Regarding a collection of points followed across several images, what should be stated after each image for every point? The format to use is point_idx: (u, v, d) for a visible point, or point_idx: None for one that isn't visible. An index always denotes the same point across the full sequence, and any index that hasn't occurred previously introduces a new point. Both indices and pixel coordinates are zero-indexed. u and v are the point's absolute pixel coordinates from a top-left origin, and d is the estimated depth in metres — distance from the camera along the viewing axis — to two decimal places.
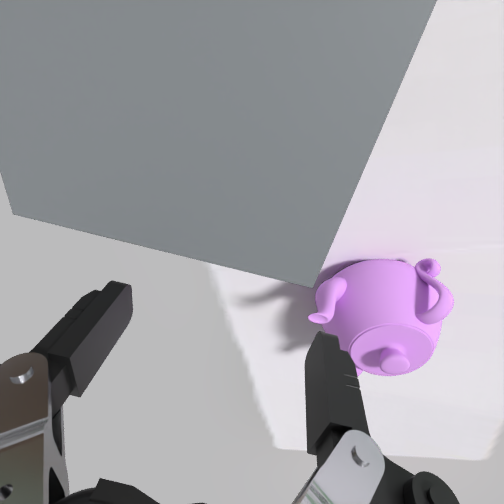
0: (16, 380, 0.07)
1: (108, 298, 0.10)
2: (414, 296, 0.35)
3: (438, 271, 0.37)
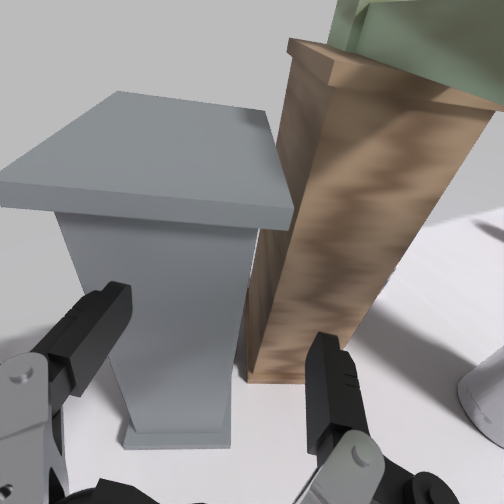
0: (16, 380, 0.07)
1: (108, 298, 0.10)
2: None
3: None
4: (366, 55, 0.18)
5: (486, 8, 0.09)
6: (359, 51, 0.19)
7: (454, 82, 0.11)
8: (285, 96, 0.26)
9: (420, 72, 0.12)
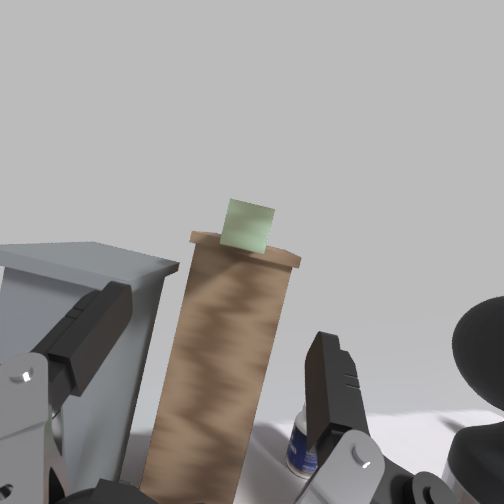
0: (16, 380, 0.07)
1: (108, 298, 0.10)
2: None
3: None
4: None
5: None
6: None
7: None
8: None
9: None
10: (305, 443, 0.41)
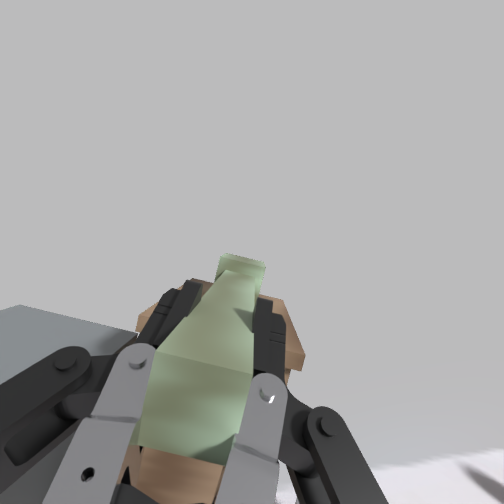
0: (137, 368, 0.08)
1: (189, 295, 0.11)
2: None
3: None
4: None
5: None
6: None
7: None
8: None
9: None
10: None
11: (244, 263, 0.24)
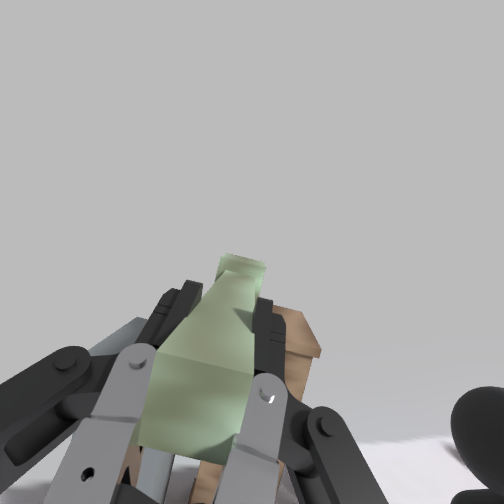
0: (137, 368, 0.08)
1: (189, 296, 0.11)
2: None
3: None
4: None
5: None
6: None
7: None
8: None
9: None
10: None
11: (244, 263, 0.24)
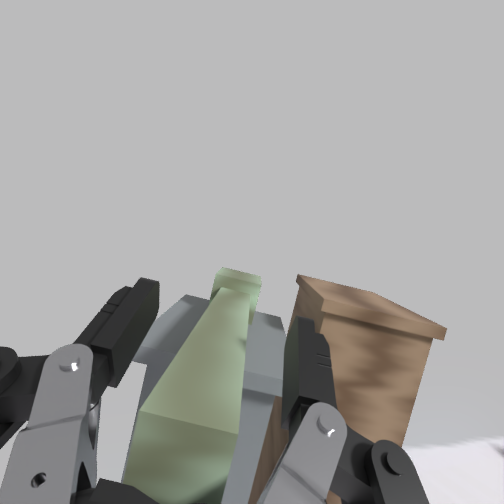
0: (66, 369, 0.08)
1: (140, 294, 0.11)
2: None
3: None
4: None
5: None
6: None
7: None
8: (294, 307, 0.36)
9: None
10: None
11: (240, 280, 0.24)
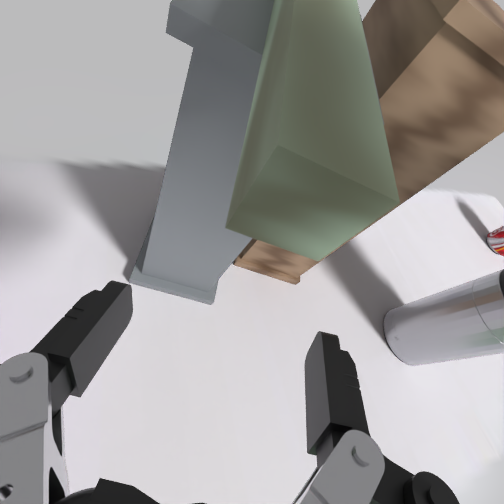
0: (16, 380, 0.07)
1: (108, 298, 0.10)
2: None
3: None
4: None
5: (287, 19, 0.08)
6: None
7: (255, 92, 0.09)
8: (375, 2, 0.24)
9: (262, 58, 0.11)
10: None
11: None
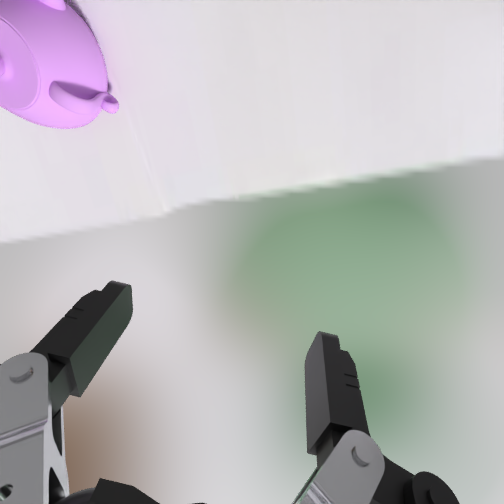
0: (16, 380, 0.07)
1: (108, 298, 0.10)
2: (74, 82, 0.37)
3: (108, 109, 0.42)
4: None
5: None
6: None
7: None
8: None
9: None
10: None
11: None
